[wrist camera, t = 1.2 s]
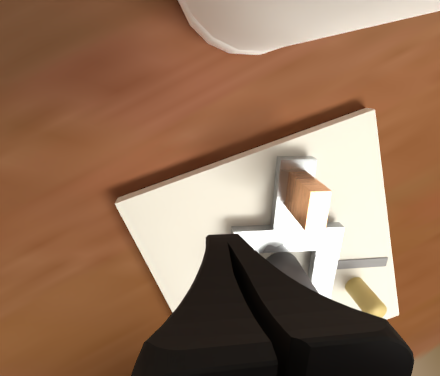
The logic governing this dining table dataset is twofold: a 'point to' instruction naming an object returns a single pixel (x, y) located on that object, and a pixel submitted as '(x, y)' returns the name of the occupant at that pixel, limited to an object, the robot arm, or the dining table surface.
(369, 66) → the dining table surface
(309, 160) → the grey metal bracket
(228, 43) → the bottle
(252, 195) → the base board
